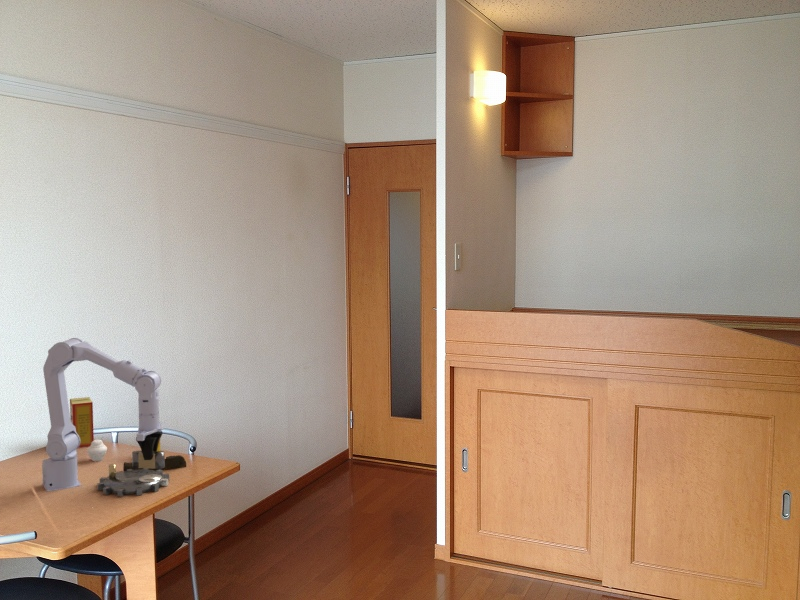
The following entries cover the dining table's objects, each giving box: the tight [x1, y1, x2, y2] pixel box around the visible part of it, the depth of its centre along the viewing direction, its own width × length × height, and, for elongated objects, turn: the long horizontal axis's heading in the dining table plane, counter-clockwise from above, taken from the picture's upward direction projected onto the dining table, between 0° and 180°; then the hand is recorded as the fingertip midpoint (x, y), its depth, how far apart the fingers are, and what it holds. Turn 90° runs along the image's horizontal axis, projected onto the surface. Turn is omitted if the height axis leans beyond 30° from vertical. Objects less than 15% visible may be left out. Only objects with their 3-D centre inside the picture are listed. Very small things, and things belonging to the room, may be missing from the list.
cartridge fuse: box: [131, 450, 166, 469], centre depth 221 cm, size 10×3×5 cm, turn 88°
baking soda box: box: [69, 396, 95, 449], centre depth 265 cm, size 10×6×16 cm
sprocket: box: [96, 463, 170, 498], centre depth 221 cm, size 20×20×6 cm
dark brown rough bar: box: [122, 454, 187, 472], centre depth 236 cm, size 19×4×5 cm, turn 107°
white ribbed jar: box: [86, 439, 108, 462], centre depth 247 cm, size 6×6×7 cm
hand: (150, 458), depth 221 cm, fingers closed on cartridge fuse, 3 cm apart
